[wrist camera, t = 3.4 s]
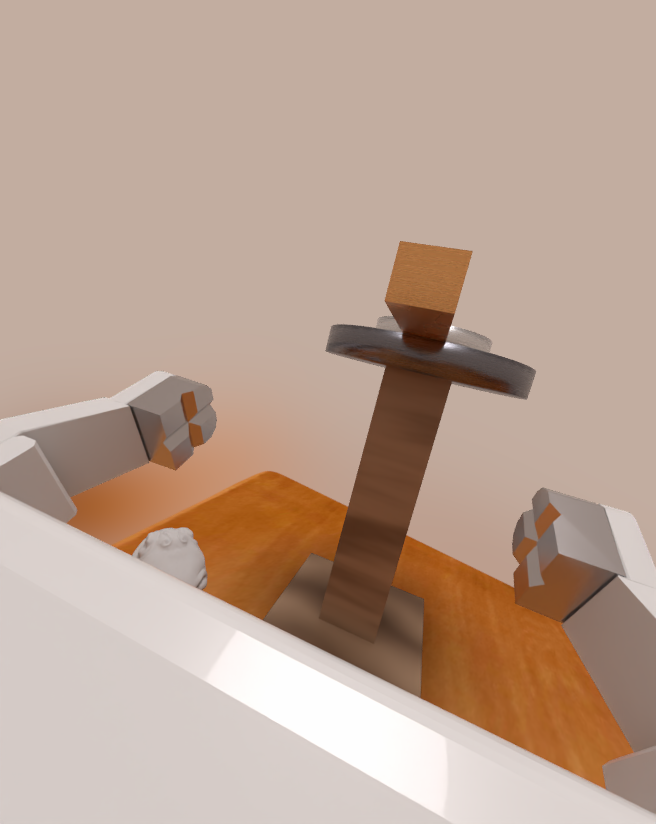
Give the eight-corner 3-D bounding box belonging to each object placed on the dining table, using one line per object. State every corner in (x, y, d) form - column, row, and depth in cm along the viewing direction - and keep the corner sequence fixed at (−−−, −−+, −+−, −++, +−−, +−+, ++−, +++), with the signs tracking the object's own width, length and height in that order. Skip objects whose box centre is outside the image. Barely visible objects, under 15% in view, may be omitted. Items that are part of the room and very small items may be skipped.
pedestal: (435, 763, 22) (574, 368, 18) (225, 651, 26) (302, 311, 22) (434, 608, 37) (509, 376, 33) (301, 553, 41) (354, 341, 38)
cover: (568, 335, 11) (592, 264, 11) (297, 284, 14) (309, 226, 14) (477, 369, 34) (484, 346, 34) (380, 347, 37) (386, 326, 37)
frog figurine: (183, 578, 33) (196, 511, 32) (213, 630, 28) (230, 553, 27) (109, 597, 28) (122, 520, 27) (130, 663, 24) (146, 573, 23)
